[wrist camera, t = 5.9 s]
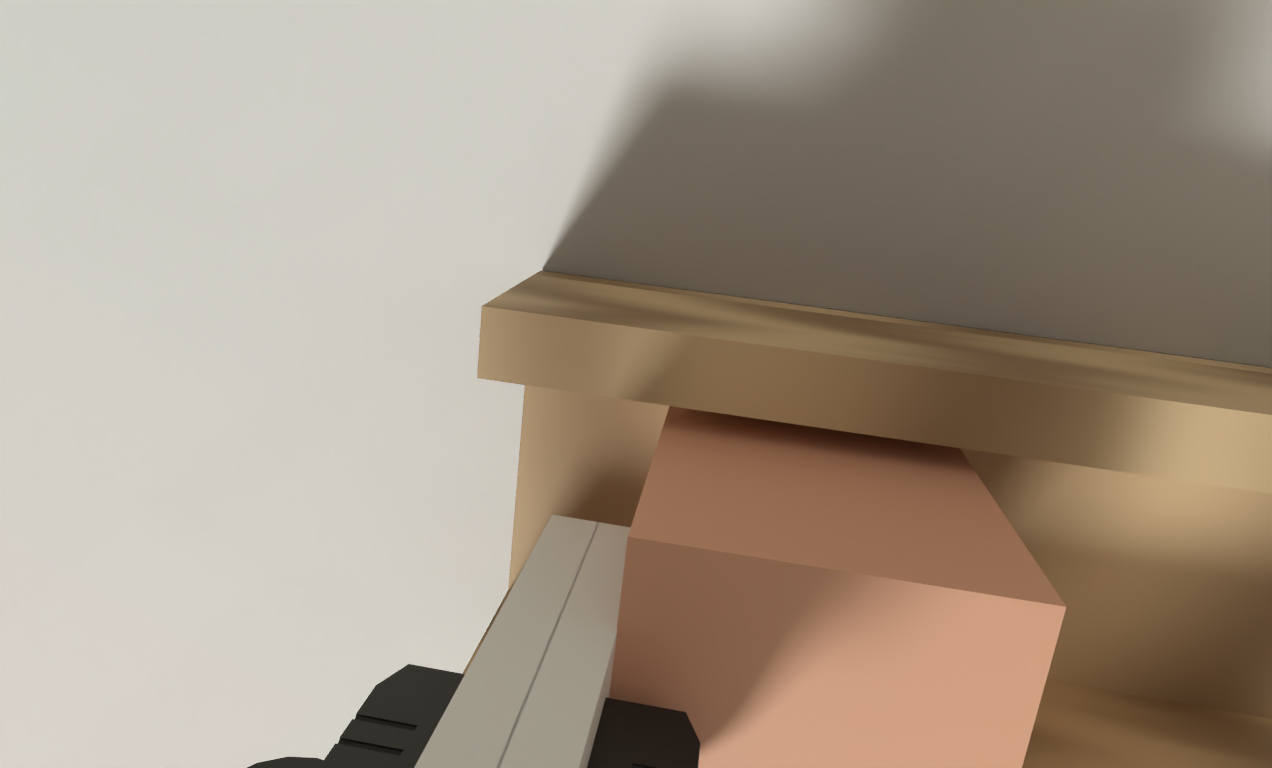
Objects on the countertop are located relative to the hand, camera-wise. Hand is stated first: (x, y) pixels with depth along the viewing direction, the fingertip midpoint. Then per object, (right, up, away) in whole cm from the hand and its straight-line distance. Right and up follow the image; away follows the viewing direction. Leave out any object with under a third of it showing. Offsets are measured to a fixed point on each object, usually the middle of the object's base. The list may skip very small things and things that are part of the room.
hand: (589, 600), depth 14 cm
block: (+4, +1, +4) cm, 6 cm away
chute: (+6, +1, +5) cm, 8 cm away
